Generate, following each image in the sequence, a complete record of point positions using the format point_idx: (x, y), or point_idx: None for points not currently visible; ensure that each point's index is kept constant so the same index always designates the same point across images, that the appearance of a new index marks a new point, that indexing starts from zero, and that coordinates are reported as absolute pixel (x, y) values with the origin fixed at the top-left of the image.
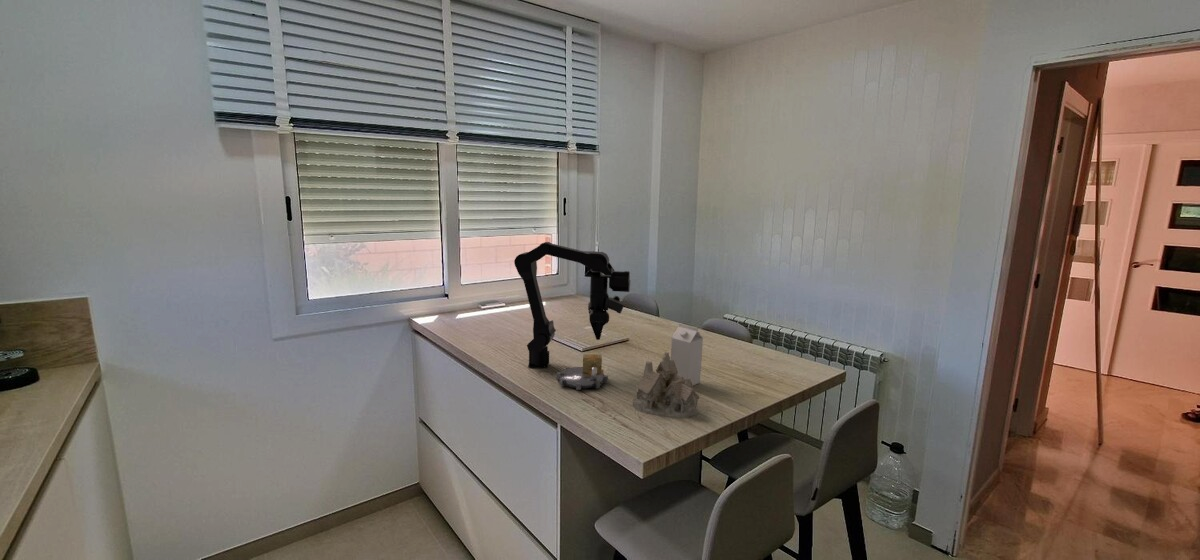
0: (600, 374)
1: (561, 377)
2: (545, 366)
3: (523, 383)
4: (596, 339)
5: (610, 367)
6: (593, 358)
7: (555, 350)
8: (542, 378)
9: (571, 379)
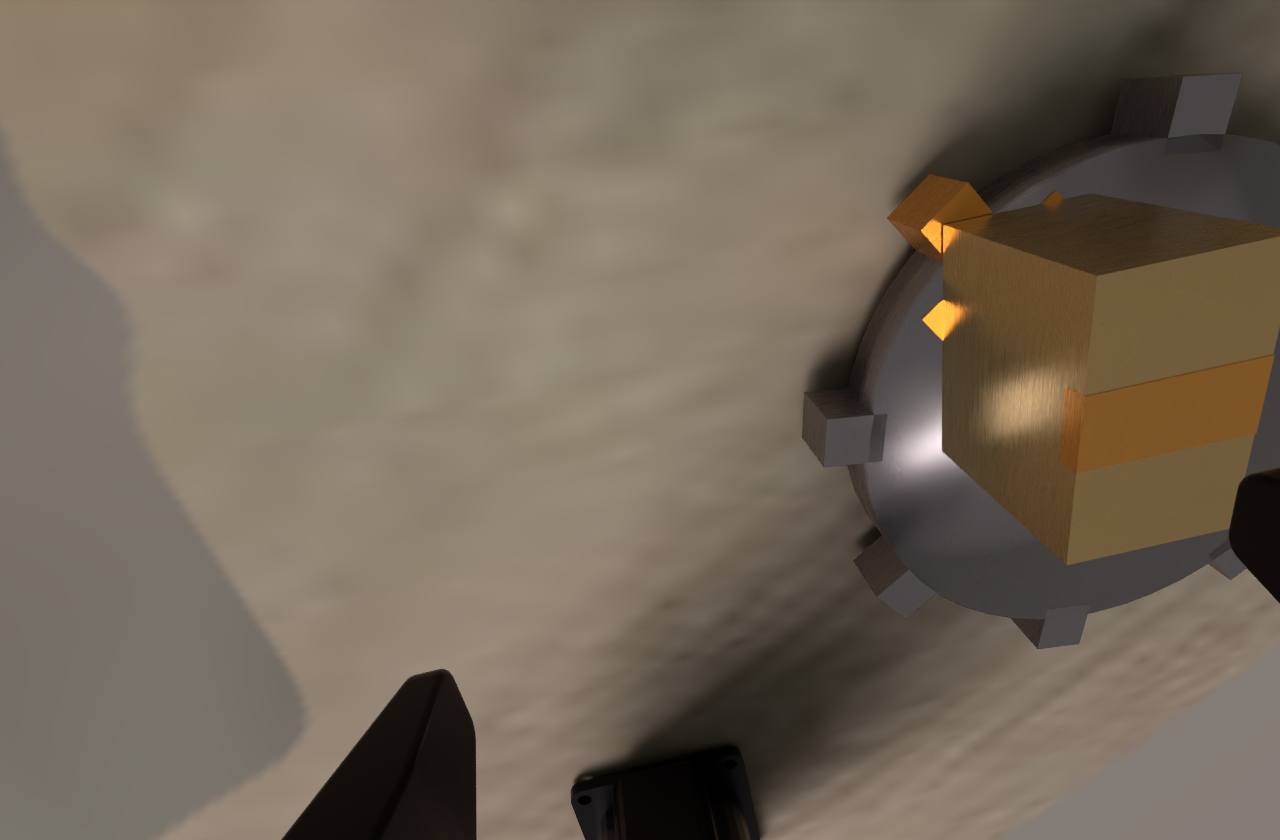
0: (1136, 196)
1: (1177, 578)
2: (740, 763)
3: (1078, 767)
4: (1264, 544)
5: (535, 127)
6: (1256, 374)
7: (192, 829)
8: (977, 697)
9: None
